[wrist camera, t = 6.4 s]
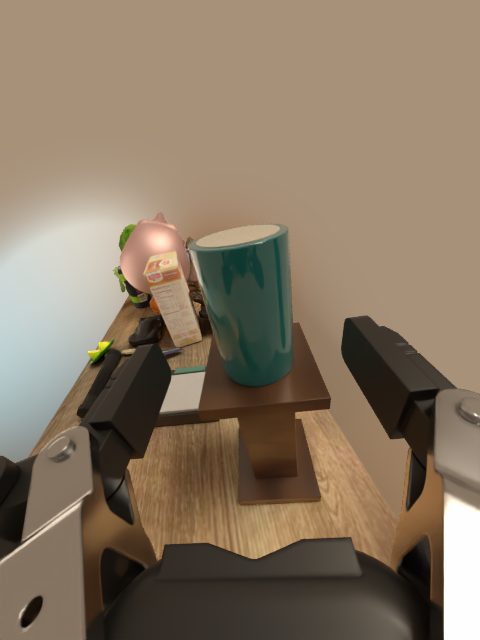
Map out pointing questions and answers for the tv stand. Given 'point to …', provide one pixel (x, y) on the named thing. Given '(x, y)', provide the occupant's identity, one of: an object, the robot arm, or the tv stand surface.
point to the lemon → (100, 350)
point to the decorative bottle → (192, 268)
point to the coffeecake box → (173, 298)
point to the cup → (248, 300)
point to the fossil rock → (199, 299)
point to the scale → (183, 398)
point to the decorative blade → (169, 351)
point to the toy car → (147, 331)
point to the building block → (154, 306)
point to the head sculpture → (151, 250)
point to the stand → (269, 425)
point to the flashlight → (99, 382)
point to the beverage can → (135, 292)
